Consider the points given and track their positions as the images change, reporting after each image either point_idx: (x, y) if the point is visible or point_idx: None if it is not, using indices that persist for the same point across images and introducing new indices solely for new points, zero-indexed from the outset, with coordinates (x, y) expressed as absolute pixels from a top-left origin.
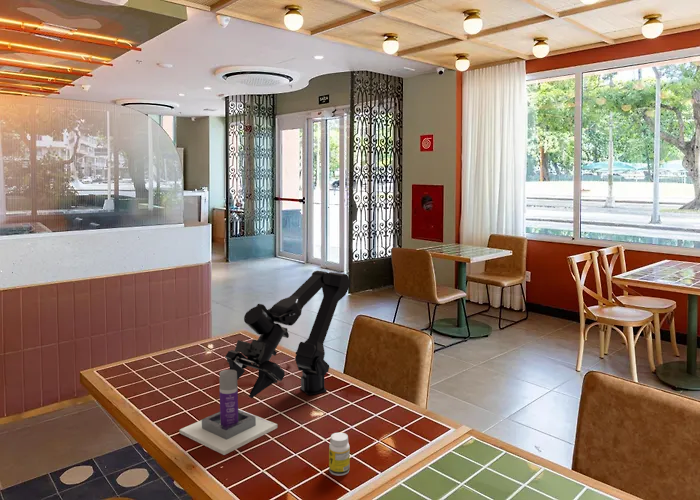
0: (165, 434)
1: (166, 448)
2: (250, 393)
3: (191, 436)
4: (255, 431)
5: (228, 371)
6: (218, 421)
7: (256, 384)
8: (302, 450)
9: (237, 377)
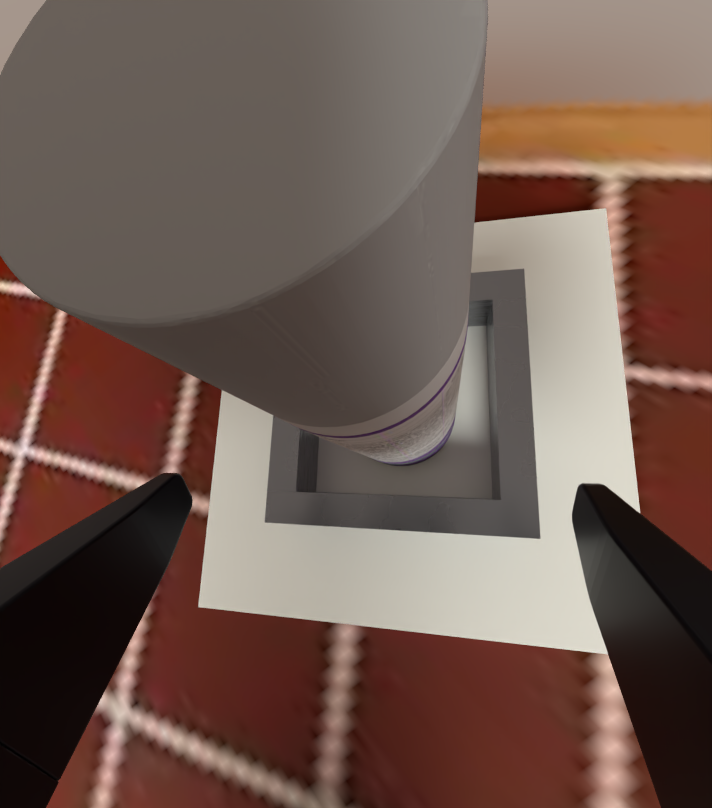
0: (648, 168)
1: (497, 120)
2: (151, 489)
3: (484, 225)
4: (243, 463)
5: (251, 108)
6: (490, 394)
7: (7, 578)
8: (12, 491)
9: (679, 805)
